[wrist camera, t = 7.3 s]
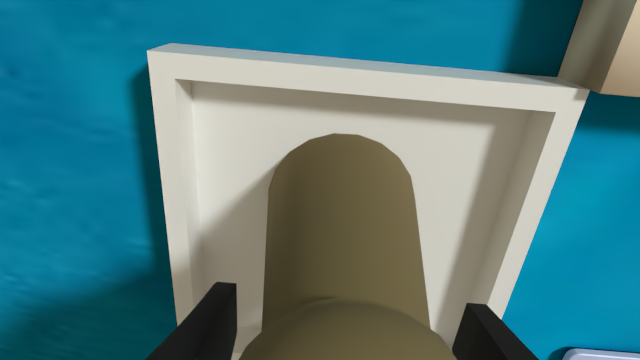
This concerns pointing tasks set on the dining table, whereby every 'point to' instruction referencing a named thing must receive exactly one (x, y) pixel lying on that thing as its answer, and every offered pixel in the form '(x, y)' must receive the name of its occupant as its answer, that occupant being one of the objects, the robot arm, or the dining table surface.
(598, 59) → the frame
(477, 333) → the robot arm
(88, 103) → the dining table surface
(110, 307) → the dining table surface
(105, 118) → the dining table surface
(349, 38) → the dining table surface
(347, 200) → the olive tall rounded piece
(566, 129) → the tray
